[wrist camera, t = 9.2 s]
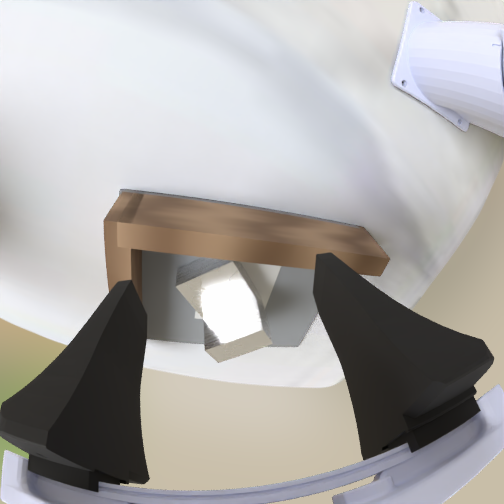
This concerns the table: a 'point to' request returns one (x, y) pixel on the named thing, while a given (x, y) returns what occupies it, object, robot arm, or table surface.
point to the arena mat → (263, 277)
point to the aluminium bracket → (225, 306)
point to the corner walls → (226, 236)
